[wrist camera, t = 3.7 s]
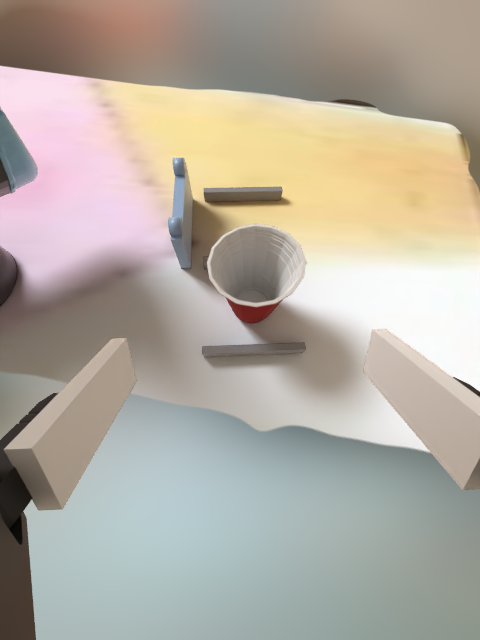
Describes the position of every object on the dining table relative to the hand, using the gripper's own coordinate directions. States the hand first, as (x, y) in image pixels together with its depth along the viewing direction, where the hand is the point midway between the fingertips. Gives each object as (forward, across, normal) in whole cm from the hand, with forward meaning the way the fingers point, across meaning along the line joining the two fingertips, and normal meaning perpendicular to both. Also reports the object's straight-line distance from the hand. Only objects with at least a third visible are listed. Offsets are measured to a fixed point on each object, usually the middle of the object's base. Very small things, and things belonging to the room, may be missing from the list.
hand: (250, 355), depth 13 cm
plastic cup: (+24, +2, -6) cm, 25 cm away
